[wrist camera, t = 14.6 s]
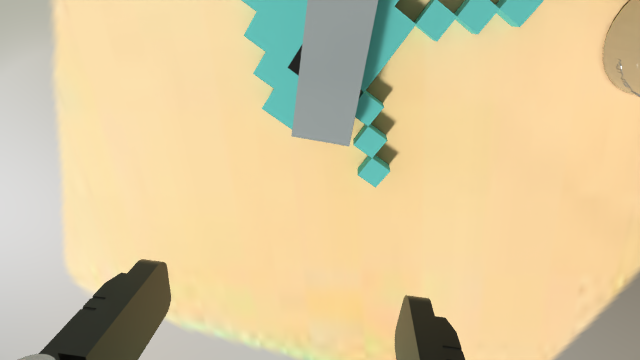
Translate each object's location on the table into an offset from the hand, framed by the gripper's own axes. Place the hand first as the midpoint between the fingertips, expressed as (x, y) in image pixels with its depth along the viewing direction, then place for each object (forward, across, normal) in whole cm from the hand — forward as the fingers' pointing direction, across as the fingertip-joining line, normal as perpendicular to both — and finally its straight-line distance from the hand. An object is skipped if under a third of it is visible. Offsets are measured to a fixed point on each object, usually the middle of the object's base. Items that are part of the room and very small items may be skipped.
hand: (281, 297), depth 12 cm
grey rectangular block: (+21, 0, -5) cm, 21 cm away
